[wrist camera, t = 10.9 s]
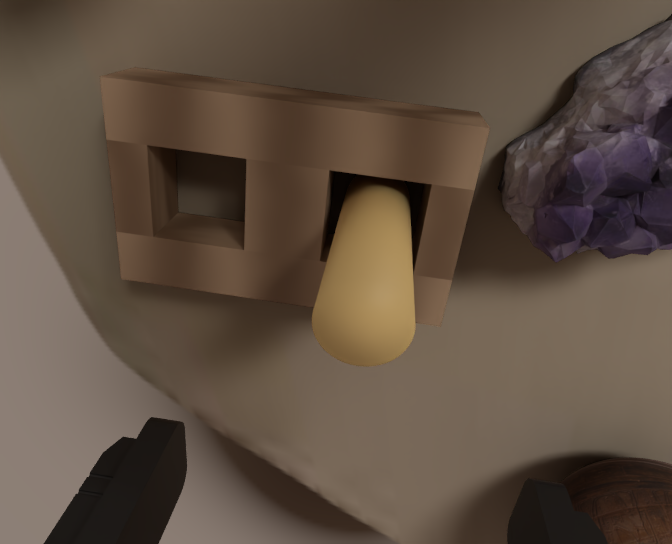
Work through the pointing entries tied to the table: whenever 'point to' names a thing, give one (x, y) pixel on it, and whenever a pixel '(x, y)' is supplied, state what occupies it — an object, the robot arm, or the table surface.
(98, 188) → the table surface
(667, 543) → the wooden sphere
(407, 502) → the table surface
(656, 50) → the geode
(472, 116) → the hole block
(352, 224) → the peg
